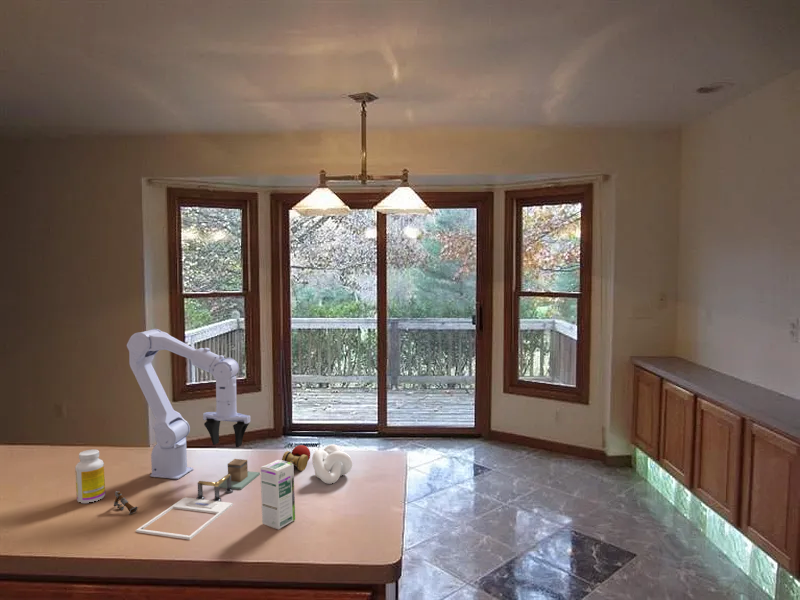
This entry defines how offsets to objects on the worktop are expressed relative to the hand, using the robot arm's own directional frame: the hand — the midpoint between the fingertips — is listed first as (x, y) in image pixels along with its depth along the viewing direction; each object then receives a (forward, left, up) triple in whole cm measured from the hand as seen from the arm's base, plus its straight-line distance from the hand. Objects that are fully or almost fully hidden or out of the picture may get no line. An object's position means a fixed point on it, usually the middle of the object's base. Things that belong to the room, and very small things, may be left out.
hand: (227, 444), depth 158 cm
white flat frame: (+4, -26, -10) cm, 28 cm away
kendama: (+17, +7, -10) cm, 21 cm away
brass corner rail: (+5, -13, -9) cm, 17 cm away
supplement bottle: (-27, -22, -10) cm, 37 cm away
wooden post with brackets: (-14, -26, -10) cm, 31 cm away
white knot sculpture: (+32, +5, -10) cm, 33 cm away
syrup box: (+28, -23, -10) cm, 37 cm away
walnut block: (+5, -3, -9) cm, 10 cm away
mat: (+5, -3, -9) cm, 11 cm away
